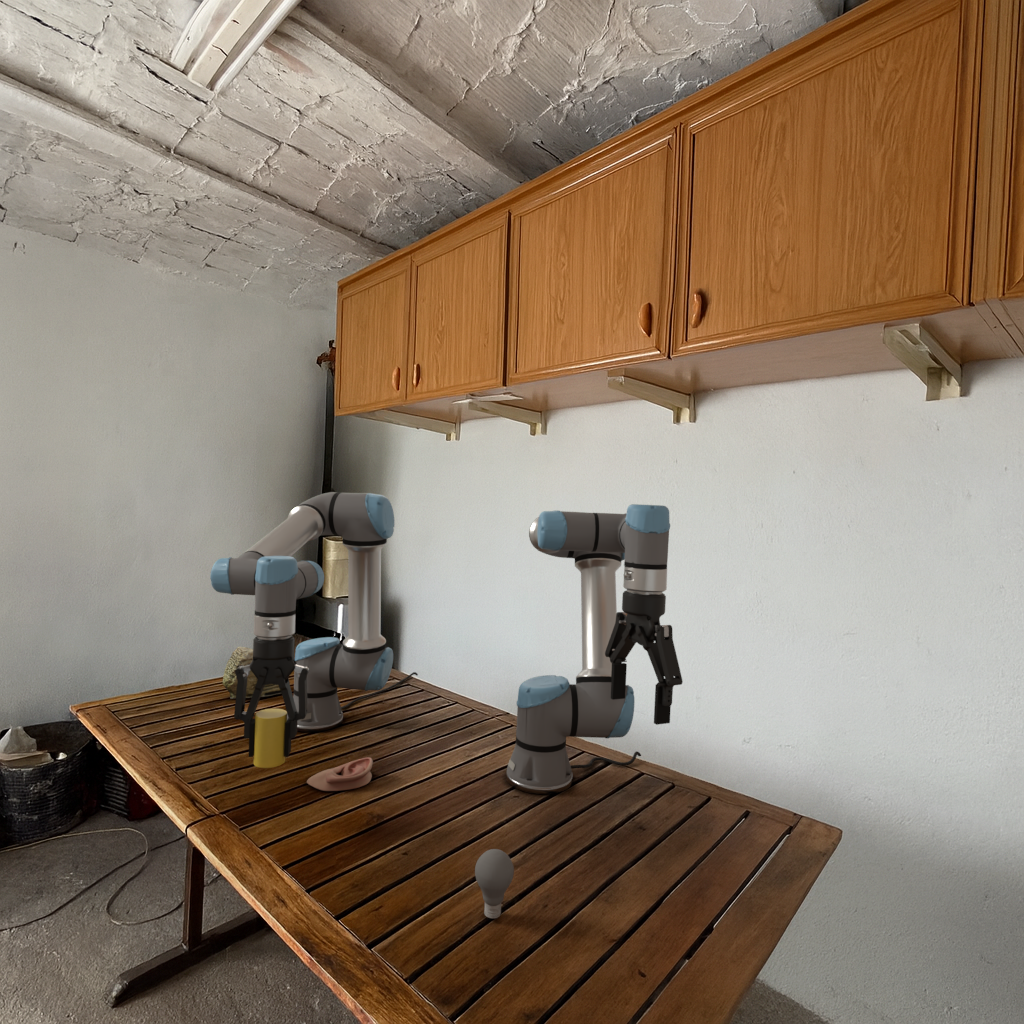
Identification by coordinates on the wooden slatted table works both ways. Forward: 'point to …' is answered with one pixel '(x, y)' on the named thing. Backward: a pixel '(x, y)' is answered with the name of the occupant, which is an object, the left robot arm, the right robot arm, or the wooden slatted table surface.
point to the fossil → (230, 680)
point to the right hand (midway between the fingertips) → (638, 710)
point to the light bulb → (494, 879)
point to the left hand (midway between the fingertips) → (269, 753)
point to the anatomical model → (343, 776)
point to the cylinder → (269, 738)
